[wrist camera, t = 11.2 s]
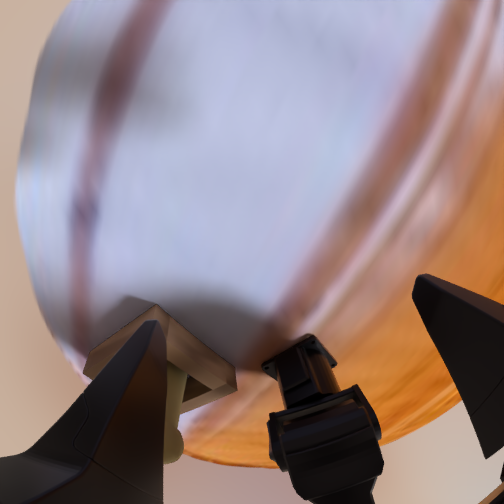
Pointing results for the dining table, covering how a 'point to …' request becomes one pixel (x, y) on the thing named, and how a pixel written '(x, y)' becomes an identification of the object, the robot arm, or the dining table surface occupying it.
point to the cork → (173, 413)
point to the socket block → (175, 360)
